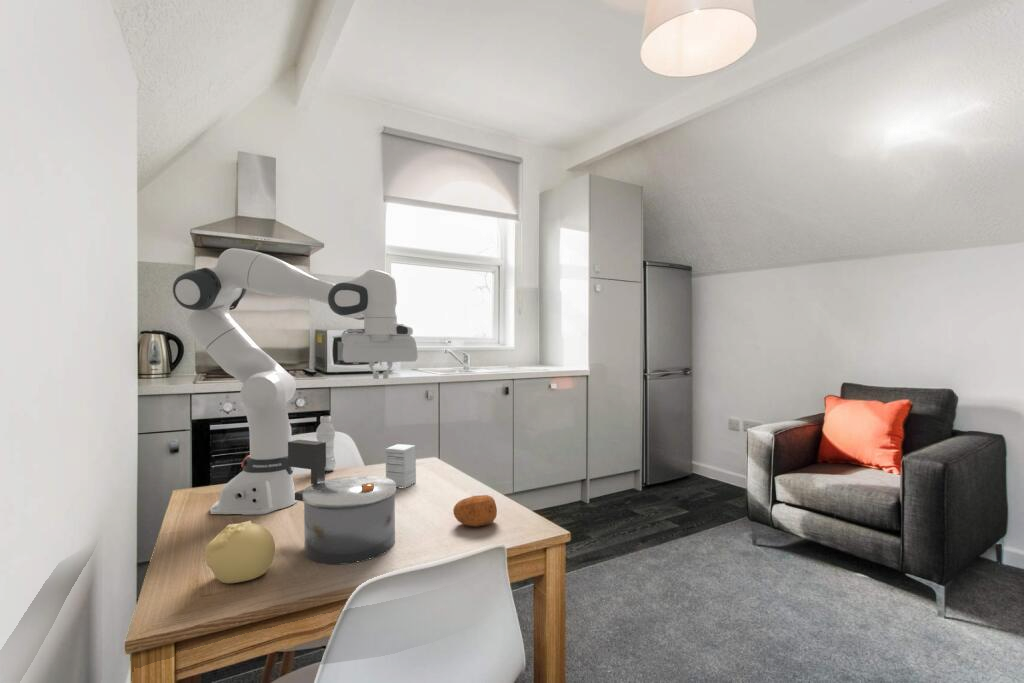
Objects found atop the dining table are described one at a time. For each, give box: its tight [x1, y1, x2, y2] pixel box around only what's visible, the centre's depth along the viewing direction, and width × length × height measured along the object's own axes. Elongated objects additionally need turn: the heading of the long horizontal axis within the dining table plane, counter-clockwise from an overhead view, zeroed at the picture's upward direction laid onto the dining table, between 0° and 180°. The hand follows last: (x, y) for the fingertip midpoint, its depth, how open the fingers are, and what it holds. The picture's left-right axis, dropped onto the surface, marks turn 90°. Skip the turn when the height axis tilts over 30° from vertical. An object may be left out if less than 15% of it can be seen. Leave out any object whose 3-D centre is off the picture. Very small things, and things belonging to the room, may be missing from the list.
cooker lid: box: [288, 439, 397, 508], centre depth 117 cm, size 28×21×11 cm
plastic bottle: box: [315, 415, 337, 472], centre depth 182 cm, size 6×7×20 cm
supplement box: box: [385, 443, 417, 489], centre depth 164 cm, size 7×7×13 cm
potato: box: [453, 494, 498, 528], centre depth 128 cm, size 9×11×8 cm
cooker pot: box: [295, 488, 396, 565], centre depth 117 cm, size 27×20×12 cm
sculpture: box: [204, 520, 276, 584], centre depth 101 cm, size 12×12×11 cm
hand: (380, 378), depth 138 cm, fingers closed
